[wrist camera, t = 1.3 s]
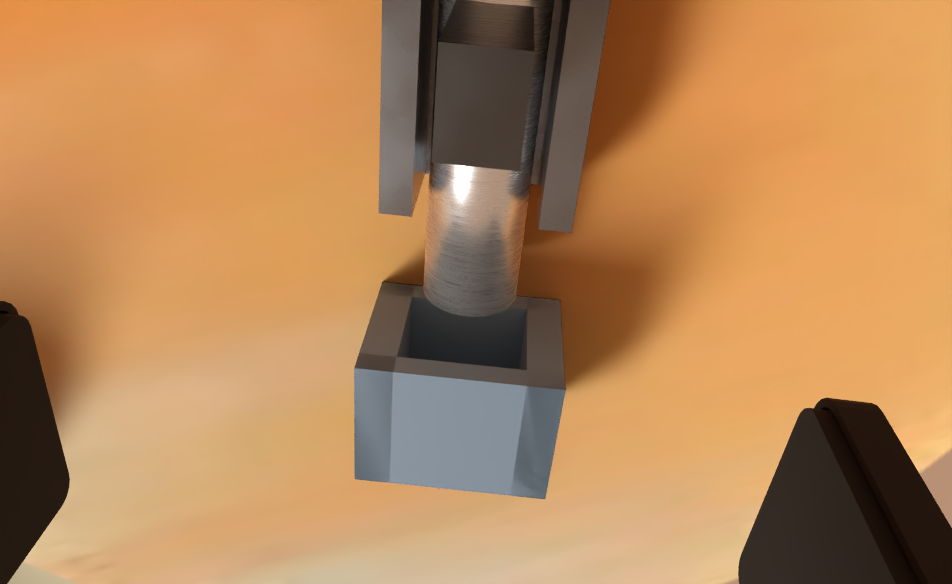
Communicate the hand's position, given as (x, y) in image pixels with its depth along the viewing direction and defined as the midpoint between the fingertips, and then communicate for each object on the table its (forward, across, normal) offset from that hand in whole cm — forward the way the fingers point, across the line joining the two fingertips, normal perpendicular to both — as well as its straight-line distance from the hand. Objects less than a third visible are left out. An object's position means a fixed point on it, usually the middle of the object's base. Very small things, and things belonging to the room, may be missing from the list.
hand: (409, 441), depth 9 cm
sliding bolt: (+21, 0, +3) cm, 21 cm away
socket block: (+23, 0, +15) cm, 27 cm away
